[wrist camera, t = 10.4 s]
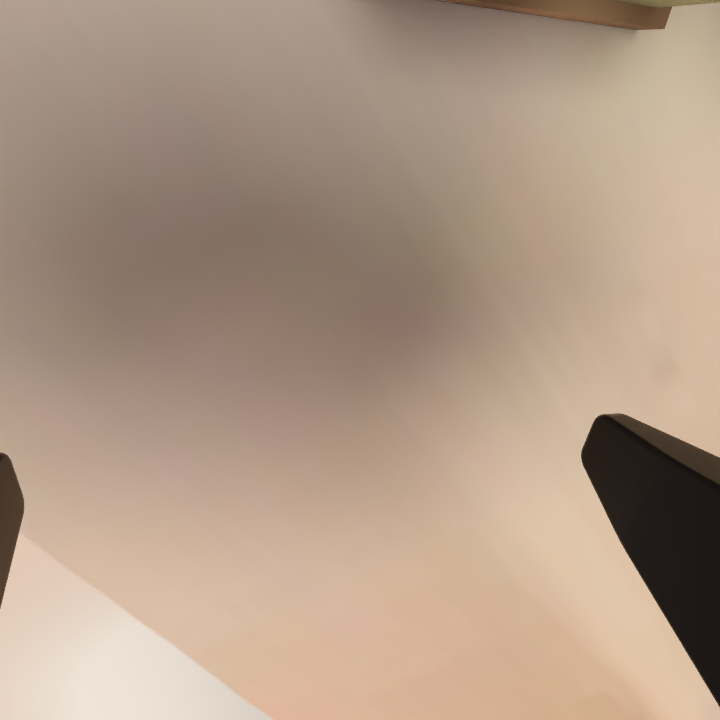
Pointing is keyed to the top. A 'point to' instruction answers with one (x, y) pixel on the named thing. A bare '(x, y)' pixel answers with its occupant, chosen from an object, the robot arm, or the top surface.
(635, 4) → the brown book holder
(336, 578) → the top surface
